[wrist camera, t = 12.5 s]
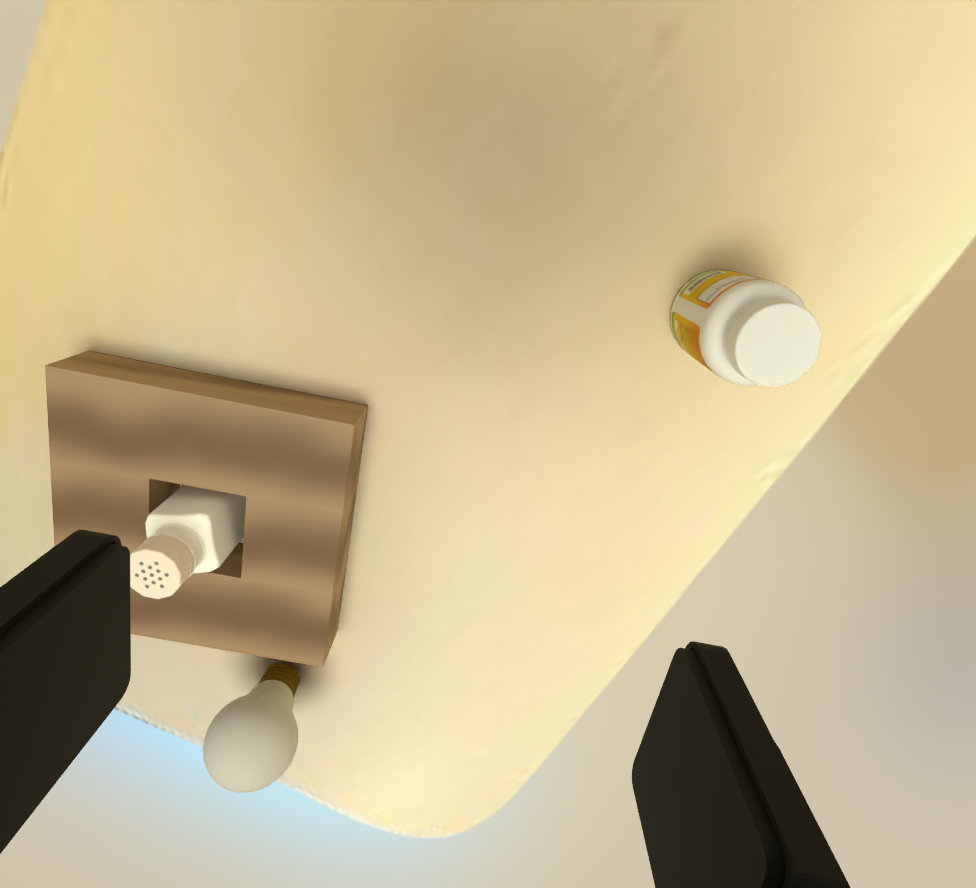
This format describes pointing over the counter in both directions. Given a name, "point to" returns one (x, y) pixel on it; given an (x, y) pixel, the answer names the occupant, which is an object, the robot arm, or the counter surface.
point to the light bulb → (255, 734)
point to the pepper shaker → (186, 539)
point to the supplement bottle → (745, 328)
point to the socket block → (220, 467)
